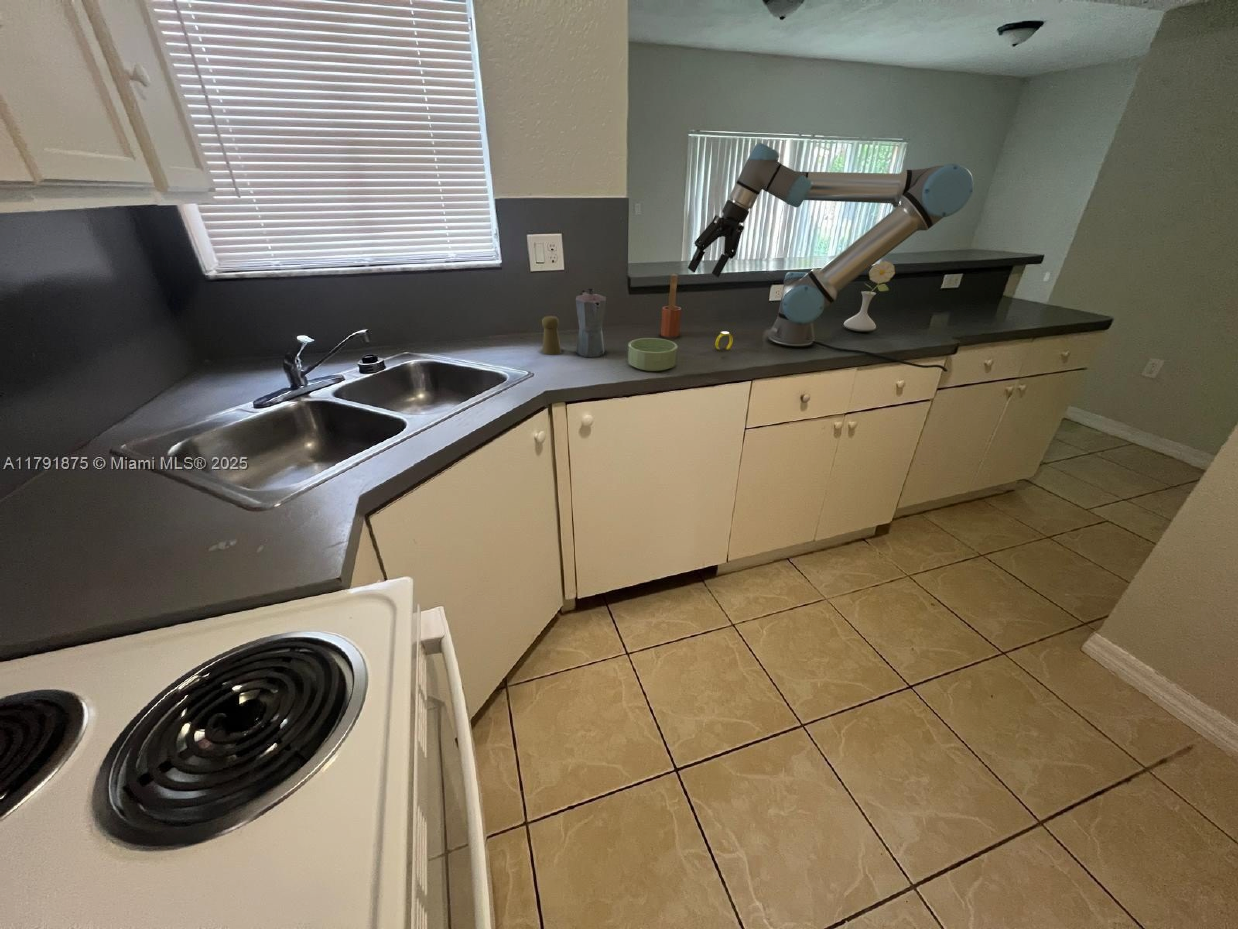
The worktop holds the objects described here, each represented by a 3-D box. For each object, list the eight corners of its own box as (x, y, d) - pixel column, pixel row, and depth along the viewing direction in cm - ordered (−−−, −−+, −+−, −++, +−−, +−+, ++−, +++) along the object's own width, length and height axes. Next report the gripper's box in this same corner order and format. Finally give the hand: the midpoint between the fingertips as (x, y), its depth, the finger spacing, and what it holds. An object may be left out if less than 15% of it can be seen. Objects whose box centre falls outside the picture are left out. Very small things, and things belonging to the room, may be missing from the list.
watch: (728, 348, 163) (730, 330, 160) (733, 350, 161) (735, 332, 157) (713, 350, 160) (715, 332, 157) (717, 352, 158) (720, 334, 155)
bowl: (678, 358, 152) (679, 339, 149) (673, 374, 140) (674, 354, 137) (632, 355, 154) (632, 336, 151) (623, 370, 142) (624, 350, 139)
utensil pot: (679, 334, 175) (681, 306, 170) (677, 340, 170) (680, 310, 164) (661, 333, 176) (663, 305, 171) (659, 338, 171) (661, 309, 166)
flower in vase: (836, 328, 187) (853, 258, 174) (852, 324, 193) (870, 256, 180) (868, 336, 178) (889, 264, 165) (884, 332, 184) (906, 261, 171)
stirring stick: (673, 333, 173) (677, 274, 163) (672, 335, 171) (676, 275, 161) (667, 333, 173) (671, 274, 163) (666, 335, 172) (670, 275, 162)
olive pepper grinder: (564, 350, 157) (563, 315, 152) (556, 355, 152) (554, 320, 147) (547, 347, 159) (545, 313, 153) (539, 353, 154) (536, 318, 148)
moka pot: (585, 362, 148) (584, 293, 137) (566, 347, 159) (564, 284, 149) (613, 357, 152) (614, 291, 141) (593, 344, 163) (592, 281, 153)
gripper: (750, 207, 153) (716, 271, 165) (706, 188, 135) (671, 261, 147) (768, 218, 150) (732, 282, 161) (725, 200, 132) (688, 274, 144)
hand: (703, 272), depth 154 cm, fingers open, 13 cm apart
